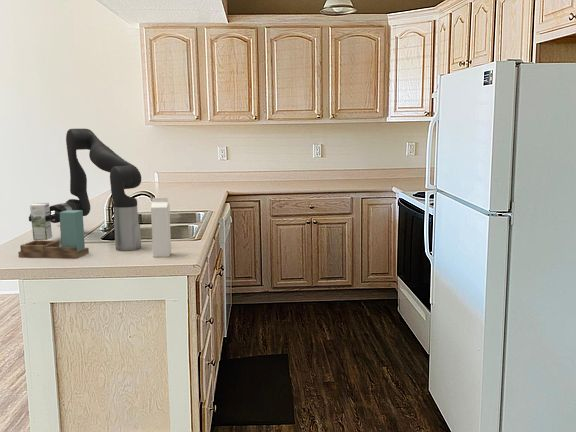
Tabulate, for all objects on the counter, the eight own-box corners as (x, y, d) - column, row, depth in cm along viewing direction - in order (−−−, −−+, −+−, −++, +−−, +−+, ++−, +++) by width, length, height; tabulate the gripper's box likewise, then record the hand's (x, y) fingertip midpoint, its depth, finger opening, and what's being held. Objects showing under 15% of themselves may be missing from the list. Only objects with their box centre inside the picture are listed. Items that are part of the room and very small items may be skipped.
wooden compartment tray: (88, 252, 224) (88, 241, 223) (76, 258, 214) (75, 246, 213) (33, 251, 227) (32, 240, 226) (18, 257, 217) (17, 245, 216)
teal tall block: (84, 248, 222) (82, 210, 219) (77, 252, 216) (74, 212, 214) (68, 248, 223) (66, 210, 220) (60, 251, 217) (58, 212, 214)
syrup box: (52, 237, 236) (49, 202, 234) (47, 240, 230) (43, 204, 228) (38, 237, 236) (35, 202, 233) (32, 240, 230) (29, 204, 228)
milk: (155, 253, 222) (153, 197, 219) (171, 253, 222) (169, 196, 219) (152, 257, 216) (150, 198, 213) (169, 256, 216) (166, 198, 213)
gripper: (42, 204, 246) (20, 209, 229) (74, 204, 244) (54, 209, 228) (44, 221, 247) (21, 228, 231) (76, 221, 245) (55, 228, 229)
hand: (38, 219), depth 229 cm, fingers closed on syrup box, 6 cm apart
